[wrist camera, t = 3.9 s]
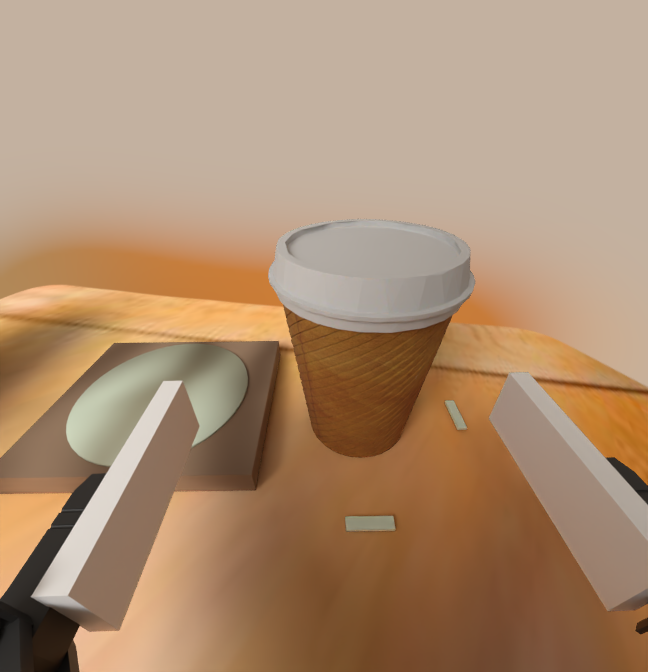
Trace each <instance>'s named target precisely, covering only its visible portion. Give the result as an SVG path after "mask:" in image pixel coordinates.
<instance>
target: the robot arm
mask: <svg viewBox="0 0 648 672" xmlns="http://www.w3.org/2000/svg"><path fill="white" fill-rule="evenodd" d="M489 420H490V421H491V423H492V425H493V426H494V428H495V429H496V431H497V433H498V434H499V436H500V438H501V439H502V441H503V442H504V444H505V446H506V447H507V449H508V451H509V452H510V454H511V455H512V457H513V459H514V460H515V462H516V464H517V465H518V467H519V468H520V470H521V472H522V473H523V475H524V477H525V478H526V480H527V481H528V483H529V485H530V486H531V488H532V490H533V491H534V493H535V494H536V496H537V498H538V499H539V501H540V503H541V504H542V506H543V507H544V509H545V511H546V512H547V514H548V516H549V517H550V519H551V520H552V522H553V524H554V525H555V527H556V529H557V530H558V532H559V533H560V535H561V537H562V538H563V540H564V542H565V543H566V545H567V546H568V548H569V550H570V551H571V553H572V555H573V556H574V558H575V559H576V561H577V563H578V564H579V566H580V568H581V569H582V571H583V572H584V574H585V576H586V577H587V579H588V580H589V582H590V584H591V585H592V587H593V589H594V590H595V592H596V593H597V595H598V597H599V598H600V600H601V602H602V603H603V605H604V606H605V608H606V610H607V611H628V610H636V609H638V608H640V607H642V606H644V605H646V604H648V486H647V485H646V484H645V483H644V482H643V480H642V479H641V478H640V477H639V476H638V475H637V474H636V473H635V472H634V471H632V470H631V469H630V468H628V467H627V466H625V465H624V464H623V463H621V462H620V461H618V460H617V459H616V458H614V457H612V458H605V457H604V456H603V455H602V454H601V453H600V452H599V450H598V449H597V448H596V447H595V446H594V445H593V444H592V443H591V442H590V440H589V439H588V438H587V437H586V436H585V435H584V434H583V433H582V432H581V430H580V429H579V428H578V427H577V426H576V425H575V424H574V423H573V422H572V420H571V419H570V418H569V417H568V416H567V415H566V414H565V413H564V412H563V410H562V409H561V408H560V407H559V406H558V405H557V404H556V403H555V402H554V400H553V399H552V398H551V397H550V396H549V395H548V394H547V393H546V392H545V391H544V389H543V388H542V387H541V386H540V385H539V384H538V383H537V382H536V381H535V379H534V378H533V377H532V376H531V375H530V374H529V373H528V372H516V373H509V375H508V377H507V379H506V381H505V383H504V386H503V388H502V390H501V392H500V394H499V397H498V399H497V401H496V403H495V405H494V408H493V410H492V412H491V414H490V416H489ZM199 427H200V426H199V423H198V420H197V418H196V415H195V412H194V409H193V407H192V404H191V401H190V399H189V396H188V393H187V391H186V388H185V385H184V382H183V381H163V382H162V384H161V386H160V387H159V389H158V391H157V392H156V394H155V395H154V397H153V399H152V400H151V402H150V404H149V405H148V407H147V408H146V410H145V412H144V413H143V415H142V417H141V418H140V420H139V421H138V423H137V425H136V426H135V428H134V430H133V431H132V433H131V435H130V436H129V438H128V439H127V441H126V443H125V444H124V446H123V448H122V449H121V451H120V452H119V454H118V456H117V457H116V459H115V461H114V462H113V464H112V465H111V467H110V469H109V470H108V472H107V473H99V474H91V475H90V476H89V477H88V478H87V479H86V480H85V481H84V482H83V483H82V484H81V485H80V486H78V487H77V488H76V489H75V490H74V492H73V493H72V495H71V496H70V498H69V499H68V501H67V502H66V504H65V505H64V507H63V508H62V512H61V513H59V514H58V515H57V517H56V518H55V520H54V521H53V523H52V524H51V528H50V529H48V530H47V532H46V533H45V535H44V536H43V538H42V539H41V541H40V542H39V544H38V545H37V547H36V548H35V550H34V551H33V553H32V554H31V555H30V557H29V558H28V560H27V561H26V563H25V564H24V566H23V567H22V569H21V570H20V572H19V573H18V575H17V576H16V578H15V579H14V581H13V582H12V584H11V585H10V587H9V588H8V590H7V591H6V592H5V594H4V595H3V596H2V598H1V599H0V672H79V665H78V658H77V651H76V646H75V643H74V641H73V638H74V636H75V634H76V632H77V630H78V628H79V626H81V627H83V628H84V629H86V630H88V631H90V632H95V631H119V630H120V627H121V625H122V622H123V620H124V617H125V615H126V612H127V610H128V607H129V604H130V602H131V599H132V597H133V594H134V592H135V589H136V587H137V584H138V582H139V579H140V577H141V574H142V571H143V569H144V566H145V564H146V561H147V559H148V556H149V554H150V551H151V549H152V546H153V543H154V541H155V538H156V536H157V533H158V531H159V528H160V526H161V523H162V521H163V518H164V516H165V513H166V510H167V508H168V505H169V503H170V500H171V498H172V495H173V493H174V490H175V488H176V485H177V483H178V480H179V477H180V475H181V472H182V470H183V467H184V465H185V462H186V460H187V457H188V455H189V452H190V449H191V447H192V444H193V442H194V439H195V437H196V434H197V432H198V429H199ZM635 631H636V632H638V633H639V634H643V633H645V632H647V631H648V618H646V619H644V620H642V621H640V622H638V623H637V626H636V630H635Z"/></svg>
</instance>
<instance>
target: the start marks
mask: <svg viewBox="0 0 648 672" xmlns="http://www.w3.org/2000/svg"><path fill="white" fill-rule="evenodd" d="M445 404H446V407H447V409H448V411H449V413H450V415H451V417H452V420H453V422H454V424H455V426H456V428H457V430H467V426H466V424H465V422H464V420H463V418H462V416H461V414H460V412H459V410H458V408H457V406H456V404H455V402H454V400H447V401H445ZM345 524H346V532H350V531H395V523H394V518H393V516H345Z"/></svg>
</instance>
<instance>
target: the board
mask: <svg viewBox="0 0 648 672" xmlns="http://www.w3.org/2000/svg"><path fill="white" fill-rule="evenodd" d="M279 359H280V349H279V341H252V342H168V343H114V344H113V345H112V346H111V347H110V348H109V349H108V350H107V351H106V352H105V353H104V354H103V355H102V356H101V357H100V358H99V359H98V360H97V361H96V362H95V363H94V364H93V365H92V366H91V367H90V368H89V369H88V370H87V371H86V372H85V373H84V374H83V375H82V376H81V377H80V378H79V379H78V380H77V381H76V382H75V383H74V384H73V385H72V386H71V387H70V388H69V389H68V390H67V391H66V392H65V393H64V394H63V395H62V396H61V397H60V398H59V399H58V400H57V401H56V402H55V403H54V404H53V405H52V406H51V407H50V408H49V410H48V411H47V412H46V413H45V414H44V415H43V416H42V417H41V418H40V419H39V420H38V421H37V422H36V423H35V424H34V425H33V426H32V427H31V428H30V429H29V430H28V431H27V432H26V433H25V434H24V435H23V436H22V437H21V438H20V439H19V440H18V441H17V442H16V443H15V444H14V445H13V446H12V447H11V448H10V449H9V450H8V451H7V452H6V453H5V454H4V455H3V456H2V457H1V458H0V494H14V493H73V492H74V490H75V489H76V488H77V487H78V486H80V485H81V484H82V483H83V482H84V481H85V480H86V479H87V478H88V477H89V476H90V475H91V474H99V473H107V472H108V470H109V469H110V467H111V465H112V464H113V462H114V461H115V459H116V457H117V456H118V454H119V452H120V451H121V449H122V448H123V446H124V444H125V443H126V441H127V439H128V438H129V436H130V435H131V433H132V431H133V430H134V428H135V426H136V425H137V423H138V421H139V420H140V418H141V417H142V415H143V413H144V412H145V410H146V408H147V407H148V405H149V404H150V402H151V400H152V399H153V397H154V395H155V394H156V392H157V391H158V389H159V387H160V386H161V384H162V382H163V381H183V382H184V385H185V388H186V391H187V393H188V396H189V399H190V401H191V404H192V407H193V409H194V412H195V415H196V418H197V420H198V423H199V426H200V427H199V429H198V432H197V434H196V437H195V439H194V442H193V444H192V447H191V449H190V452H189V455H188V457H187V460H186V462H185V465H184V467H183V470H182V472H181V475H180V477H179V480H178V483H177V485H176V488H175V490H174V491H235V490H256V485H257V479H258V474H259V468H260V463H261V457H262V452H263V446H264V441H265V436H266V430H267V425H268V419H269V414H270V408H271V403H272V397H273V392H274V386H275V381H276V375H277V370H278V365H279Z"/></svg>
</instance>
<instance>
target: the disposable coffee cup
mask: <svg viewBox="0 0 648 672" xmlns="http://www.w3.org/2000/svg"><path fill="white" fill-rule="evenodd" d="M268 277H269V281H270V284H271V286H272V287H273V289H274V290H275V292H276V293H277V295H278V297H279V300H280V301H281V302H282V303H283V306H284V310H285V314H286V318H287V324H288V327H289V332H290V335H291V338H292V339H291V341H292V344H293V347H294V352H295V356H296V361H297V364H299V365H297V366H298V369H299V372H300V378H301V380H302V382H301V383H302V386H303V391H304V394H305V399H306V402H307V403H306V404H307V407H308V412H309V416H310V420H311V425H312V428H313V431H314V433H315V434H316V436H317V438H318V439H319V440H320V441H321V442H322V443H323V444H324V445H325V446H327V447H328V448H330V449H331V450H333V451H335V452H337V453H340V454H343V455H346V456H350V457H370V456H375V455H378V454H381V453H383V452H385V451H387V450H388V449H390V448H391V447H392V446H393V445H394V444H395V443H396V442H397V441H398V440H399V438H400V436H401V434H402V431H403V429H404V426H405V424H406V421H407V419H408V417H409V415H410V412H411V410H412V408H413V405H414V403H415V401H416V399H417V397H418V394H419V392H420V390H421V387H422V385H423V382H424V380H425V378H426V376H427V374H428V371H429V369H430V366H431V364H432V362H433V359H434V357H435V355H436V353H437V350H438V348H439V346H440V344H441V341H442V338H443V336H444V334H445V332H446V329H447V327H448V325H449V323H450V320H451V318H452V315H453V314H454V313H456V312H457V311H458V310H459V308H460V306H461V305H462V304H463V303H464V302H465V301H466V300H467V299H468V298H469V297H470V295H471V293H472V291H473V288H474V285H475V279H474V275H473V274H472V272H471V271H470V248H469V246H468V245H467V244H466V243H465V242H464V241H463V240H461V239H460V238H458V237H456V236H455V235H453V234H450V233H448V232H445V231H443V230H440V229H436V228H432V227H428V226H425V225H420V224H413V223H407V222H401V221H389V220H376V219H375V220H374V219H352V220H339V221H328V222H321V223H316V224H311V225H307V226H303V227H300V228H297V229H294V230H292V231H290V232H288V233H286V234H285V235H284V236H282V237H281V238H280V239H279V240H278V243H277V245H276V253H275V261H274V262H273V263H272V265H271V267H270V268H269V275H268Z"/></svg>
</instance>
